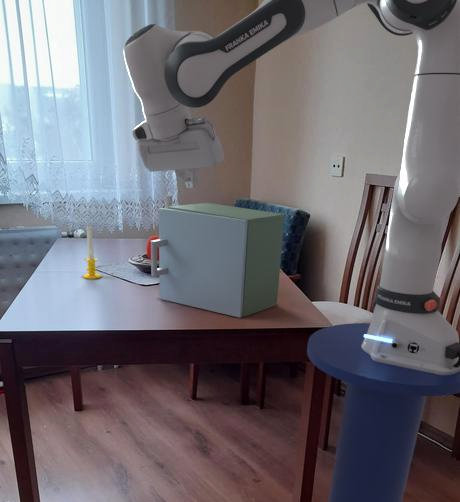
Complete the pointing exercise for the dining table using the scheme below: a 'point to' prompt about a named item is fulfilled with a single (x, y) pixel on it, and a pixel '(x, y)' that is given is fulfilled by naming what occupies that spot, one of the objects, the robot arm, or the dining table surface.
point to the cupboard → (254, 252)
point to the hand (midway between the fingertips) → (192, 187)
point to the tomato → (150, 247)
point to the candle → (91, 257)
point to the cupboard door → (201, 260)
